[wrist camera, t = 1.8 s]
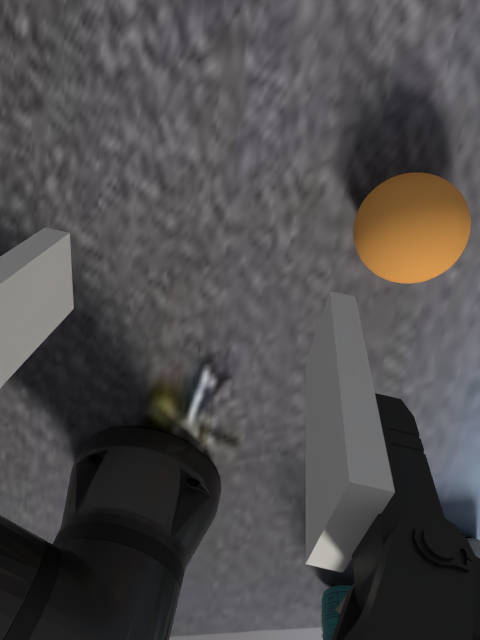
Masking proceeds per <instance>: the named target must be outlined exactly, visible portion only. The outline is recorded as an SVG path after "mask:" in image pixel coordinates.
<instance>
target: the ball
mask: <svg viewBox="0 0 480 640" xmlns="http://www.w3.org/2000/svg"><path fill="white" fill-rule="evenodd" d="M470 229H471V217H470V212H469V208H468V205H467V203H466V201H465V199H464V197H463V196H462V194H461V193H460V192H459V190H458V189H457V188H456V187H455V186H454V185H453V184H451V183H450V182H448V181H447V180H445V179H443V178H441V177H439V176H436V175H433V174H428V173H421V172H413V173H405V174H401V175H397V176H395V177H392V178H390V179H388V180H386V181H384V182H383V183H381V184H380V185H378V186H377V187H376V188H374V189H373V190H372V191H371V192H370V193H369V194H368V195H367V197H366V198H365V199H364V201H363V202H362V204H361V206H360V208H359V210H358V212H357V215H356V218H355V222H354V243H355V247H356V250H357V252H358V254H359V256H360V258H361V260H362V261H363V263H364V264H365V265H366V266H367V267H368V268H369V269H370V270H371V271H372V272H373V273H375V274H376V275H378V276H380V277H382V278H384V279H386V280H389V281H392V282H397V283H418V282H423V281H426V280H429V279H432V278H434V277H436V276H438V275H440V274H442V273H443V272H445V271H446V270H447V269H448V268H450V267H451V266H452V265H453V264H454V263H455V262H456V261H457V259H458V258H459V257H460V255H461V254H462V252H463V250H464V249H465V247H466V244H467V242H468V239H469V235H470Z"/></svg>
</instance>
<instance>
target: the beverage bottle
mask: <svg viewBox="0 0 480 640" xmlns="http://www.w3.org/2000/svg"><path fill="white" fill-rule="evenodd" d="M351 587H352V586H348V585H340V586H334V587H331V588H329V589H327V590H326V591H325V592H324V593H323V597H322V610H321V611H322V615H321V616H322V617H321V618H322V620H321V621H322V623H323V626H322V628H323V630H322V631H323V634H322V635H323V636H322V637H323V640H331V639H332V636H333V633H334V630H335V628H336V625H337V622H338V619H339V616H340V614H339V613H338V612H337V611H335V610H336V609H337V607H338V606H339V604H340V602H341V601H342V599H343V598H344V597H345V595H346V594H347V592H348V591H349V589H350V588H351Z"/></svg>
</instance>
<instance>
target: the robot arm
mask: <svg viewBox="0 0 480 640" xmlns="http://www.w3.org/2000/svg"><path fill="white" fill-rule="evenodd" d="M73 309H74V303H73V285H72V267H71V249H70V233H68V232H63V231H59V230H54V229H50V228H44V229H42V230H40V231H39V232H37V233H36V234H34V235H33V236H31V237H30V238H28V239H27V240H25V241H23V242H22V243H20V244H19V245H17V246H16V247H14V248H13V249H11V250H10V251H8V252H7V253H5V254H3V255H2V256H0V388H1V387H2V386H3V384H4V383H5V382H6V381H7V380H8V379H9V378H10V377H11V376H12V375H13V374H14V373H15V371H16V370H17V369H18V368H19V367H20V366H21V365H22V364H23V363H24V362H25V361H26V360H27V359H28V357H29V356H30V355H31V354H32V353H33V352H34V351H35V350H36V349H37V348H38V347H39V346H40V345H41V343H42V342H43V341H44V340H45V339H46V338H47V337H48V336H49V335H50V334H51V333H52V332H53V331H54V329H55V328H56V327H57V326H58V325H59V324H60V323H61V322H62V321H63V320H64V319H65V318H66V316H67V315H68V314H69V313H70V312H71V311H72V310H73ZM423 452H424V448H423V445H422V442H421V439H420V438H419V432H418V428H417V425H416V422H415V418H414V416H413V415H412V413H411V412H410V411H409V409H408V408H407V407H406V405H405V404H404V403H403V401H402V400H401V399H398V398H394V397H389V396H385V395H380V394H376V393H375V392H374V387H373V382H372V377H371V372H370V367H369V362H368V358H367V353H366V348H365V343H364V338H363V333H362V328H361V323H360V318H359V313H358V308H357V304H356V299H355V297H354V296H349V295H345V294H340V293H336V292H331V291H330V293H329V296H328V299H327V302H326V305H325V307H324V310H323V313H322V316H321V319H320V322H319V325H318V328H317V331H316V334H315V336H314V339H313V342H312V345H311V348H310V351H309V354H308V357H307V360H306V564H308V565H312V566H316V567H320V568H325V569H329V570H333V571H337V572H342V573H343V572H344V570H345V569H346V567H347V565H348V564H349V562H350V561H351V559H352V565H353V576H354V584H353V585H352V587H351V588H350V589H349V591H348V592H347V594H346V595H345V597H344V598H343V599H342V601H341V602H340V604H339V606H338V607H337V609H336V610H335V611H337V612H338V613H339V614H340V616H339V619H338V622H337V625H336V628H335V630H334V633H333V636H332V639H331V640H480V558H478V557H477V556H475V554H474V552H473V550H472V548H471V546H470V544H469V542H468V540H467V539H466V538H465V536H464V535H463V534H462V533H461V532H460V531H459V529H458V528H457V527H456V526H455V525H453V524H452V523H451V522H449V521H448V520H447V519H445V517H444V515H443V512H442V508H441V505H440V502H439V498H438V495H437V492H436V488H435V485H434V482H433V478H432V475H431V472H430V468H429V465H428V462H427V458H426V455H425V454H424V453H423ZM220 493H221V482H220V478H219V475H218V473H217V471H216V469H215V468H214V466H213V465H212V463H211V462H210V461H209V460H208V459H207V458H206V457H205V456H204V455H203V454H202V453H201V452H200V451H199V450H197V449H196V448H194V447H193V446H192V445H190V444H188V443H187V442H185V441H183V440H181V439H179V438H177V437H175V436H172V435H170V434H167V433H164V432H161V431H157V430H153V429H148V428H140V427H120V428H113V429H109V430H106V431H103V432H101V433H98V434H97V435H95V436H93V437H92V438H91V439H90V440H88V442H87V443H86V444H85V445H84V447H83V449H82V450H81V452H80V454H79V456H78V457H77V459H76V461H75V463H74V465H73V468H72V471H71V476H70V481H69V487H68V492H67V498H66V503H65V509H64V514H63V520H62V525H61V528H60V530H59V532H58V534H57V537H56V538H55V540H54V542H53V544H51V543H49V542H47V541H45V540H44V539H42V538H40V537H38V536H37V535H35V534H33V533H31V532H29V531H27V530H26V529H24V528H22V527H20V526H18V525H17V524H15V523H13V522H11V521H9V520H8V519H6V518H4V517H2V516H0V640H169V638H170V633H171V629H172V625H173V620H174V616H175V611H176V607H177V603H178V598H179V594H180V589H181V585H182V581H183V577H184V573H185V569H186V567H187V565H188V563H189V561H190V559H191V558H192V556H193V554H194V553H195V551H196V549H197V547H198V546H199V544H200V542H201V541H202V539H203V537H204V535H205V534H206V532H207V530H208V528H209V527H210V525H211V523H212V522H213V520H214V518H215V515H216V512H217V509H218V504H219V499H220Z"/></svg>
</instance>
